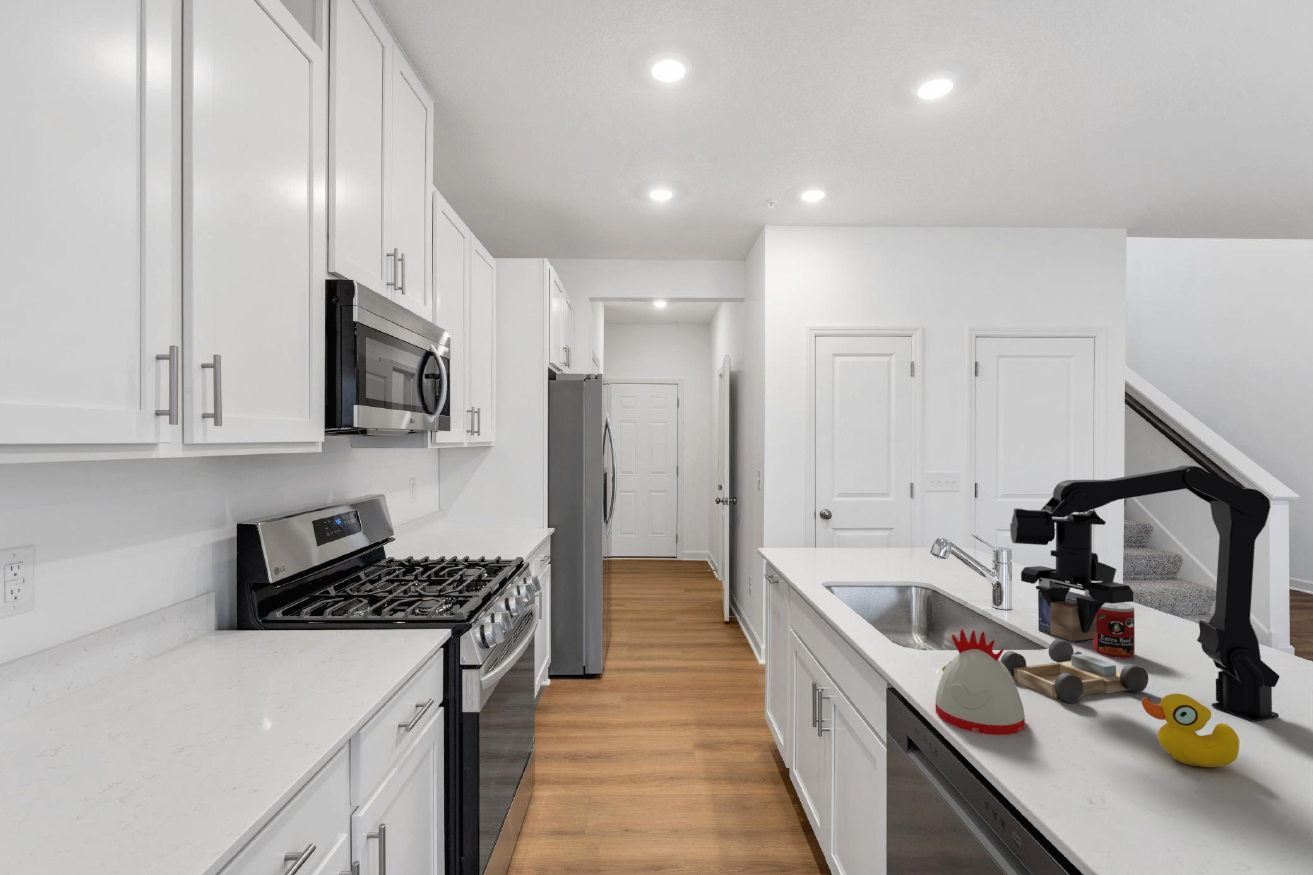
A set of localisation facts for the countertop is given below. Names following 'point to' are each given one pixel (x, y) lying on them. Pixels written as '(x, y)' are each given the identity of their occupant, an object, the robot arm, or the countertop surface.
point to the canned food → (1115, 630)
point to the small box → (1045, 614)
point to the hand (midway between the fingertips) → (1073, 628)
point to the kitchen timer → (979, 690)
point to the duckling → (1192, 732)
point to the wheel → (1060, 651)
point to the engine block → (1068, 621)
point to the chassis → (1075, 676)
